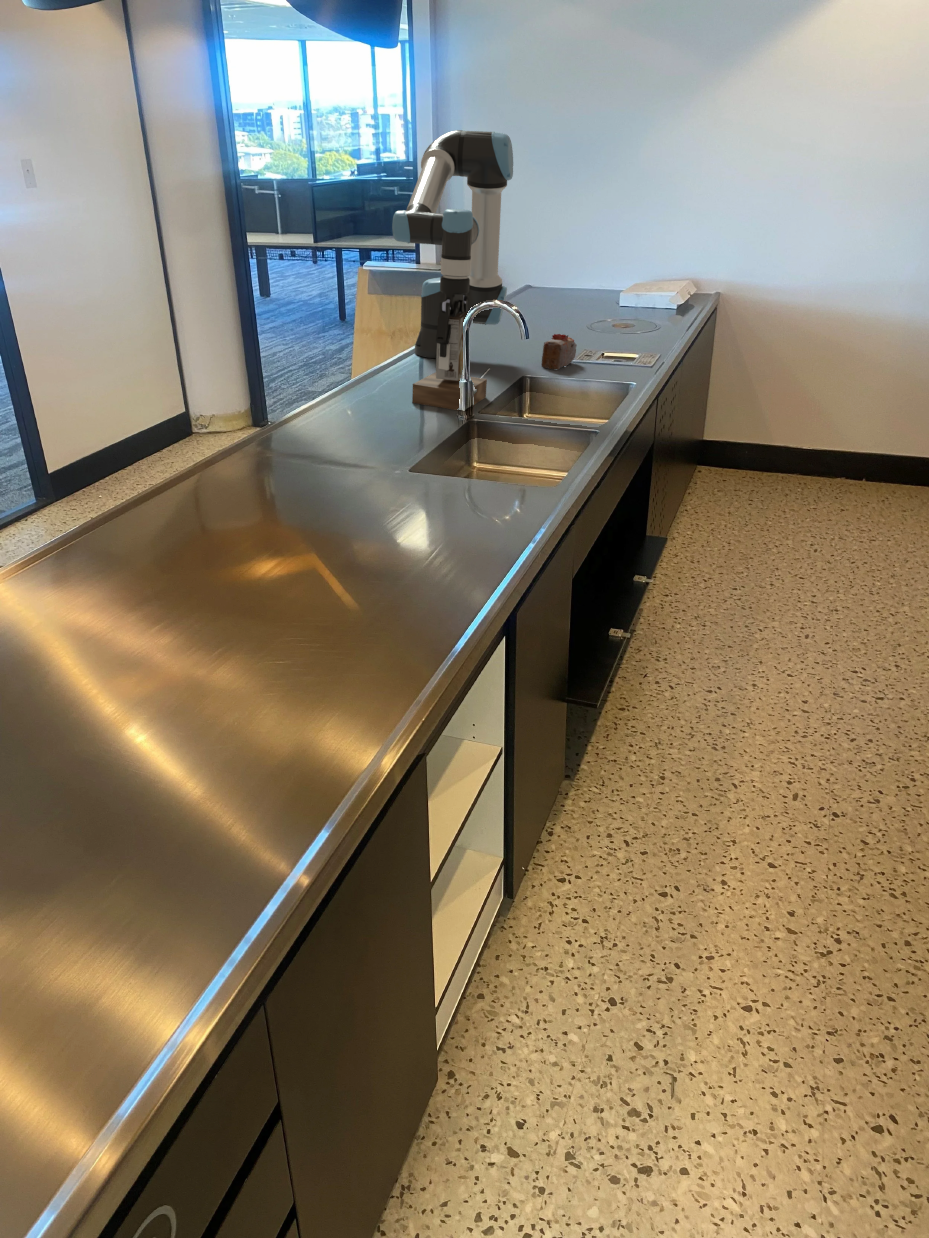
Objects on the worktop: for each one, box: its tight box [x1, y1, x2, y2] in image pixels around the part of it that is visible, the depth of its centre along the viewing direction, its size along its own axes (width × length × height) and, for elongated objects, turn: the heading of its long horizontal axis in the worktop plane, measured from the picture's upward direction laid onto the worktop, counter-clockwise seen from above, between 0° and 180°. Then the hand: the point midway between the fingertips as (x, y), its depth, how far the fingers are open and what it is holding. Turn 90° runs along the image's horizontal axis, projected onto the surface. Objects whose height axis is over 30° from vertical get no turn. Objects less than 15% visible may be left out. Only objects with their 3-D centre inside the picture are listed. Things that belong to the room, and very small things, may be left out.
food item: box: [541, 333, 578, 370], centre depth 280 cm, size 14×8×10 cm, turn 155°
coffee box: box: [435, 312, 468, 381], centre depth 233 cm, size 9×6×16 cm
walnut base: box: [411, 371, 488, 411], centre depth 239 cm, size 16×15×5 cm
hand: (451, 365), depth 236 cm, fingers closed on coffee box, 10 cm apart
